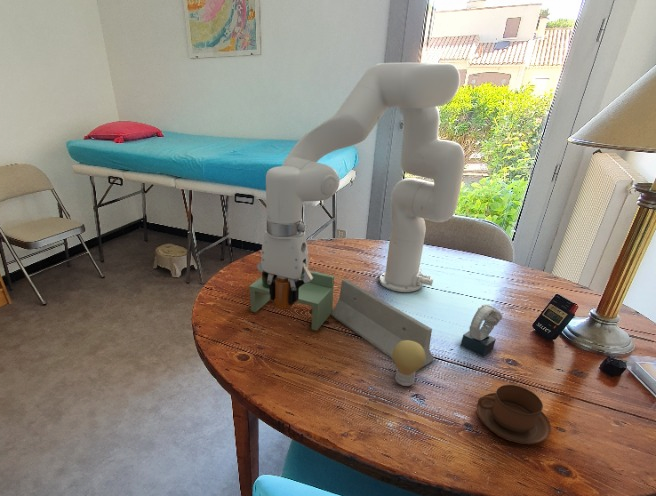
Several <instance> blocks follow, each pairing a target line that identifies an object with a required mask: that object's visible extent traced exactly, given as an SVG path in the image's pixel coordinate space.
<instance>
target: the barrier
mask: <svg viewBox="0 0 656 496" xmlns="http://www.w3.org/2000/svg"><path fill="white" fill-rule="evenodd" d="M330 316H331V317H333V318H334V319H336V320H337V321H338V322H340V323H341V324H343V325H344V326H345V327H347V328H348V329H350V330H351V331H352V332H354V333H355V334H357V335H358V336H359V337H361V338H363V339H364V340H365V341H366V342H368V343H369V344H371V345H373V346H374V347H375V348H377V350H379V351H380V352H383V354H385V355H387V357H389V358H391V359H392V360H393V357H392V353H393V350H394V348H395V346H396V345H397V344H398V343H399V342H401V341H404V340H410V341H414V342H417V343H419V344H420V345H421V346H422V347H423V349H424V352H425V362H424V364H423V366H422V367H421V368H424V367H425V366H426V365H429V364H431V363H433V362H434V359H435V358H434V355H433V354H432V352H431V350H430V346H431V339H432V332H433V328H431V327H429V326H428V325H427V324H424V323H423V322H421V321H419V320H417V319H415V317H412V316H410V315H409V314H407V313H406V312H403V311H402V310H401V309H398V308H397V307H395V306H393V305H392V304H390V303H389V302H386V301H384V300H383V299H381V298H379V297H378V296H376V295H374V294H372V293H370V292H368V291H367V290H365V288H362V287H360V286H358V285H356V284H355V283H353V282H352V281H350V280H348V279H346V278H345V279H341V285H340V292H339V298H338V301H337V303H336V304H335V306H334V307H333V308H332V313H331V314H330Z"/></svg>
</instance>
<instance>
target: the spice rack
mask: <svg viewBox="0 0 656 496" xmlns="http://www.w3.org/2000/svg"><path fill="white" fill-rule="evenodd" d="M309 271H310V273H311V275H312V276H313V280H312V281H310V282H308V283H306V284H303V285H302V286H301V287H299V298H298V300H297V301H296V302H295V303H297V304H301V305H304V306H309V307H311V330H314V331H318V330H319V329H320V328H321V327H322V325H323V324H324V323H325V321H326V320H327V319H328V318H329V316H331V313H332V311H333V301H334V288H335V287H334V285H335V275H333V274H328V273H322V272H318V271H314V270H310V269H309ZM302 278H304V276H303V274H302V273H301V277H300V279H302ZM249 299H250V300H249V301H250V312H253V313H257V312H258V311H259V310H260V309H261V308H263V307H264V306H265V305H266V304H267V303H268V302H269V301H271V299H270V293H269V288H265V287H263V286H262V276H260V277H259V278H258V279H256V280H255V281H254V282H252V283H251V284H250V285H249Z"/></svg>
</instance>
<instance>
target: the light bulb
mask: <svg viewBox="0 0 656 496" xmlns="http://www.w3.org/2000/svg"><path fill="white" fill-rule="evenodd" d="M392 357H393V359H392V361H393V363H394V365H395V367H396V372H395V377H394V378H395V381H396V383H397V384H399V385H400V386H404V387H410V386H412V385H413V384H414V383H415V376H416V372H417V371H419V370H420V369H422V368H423V367H424V366H423V364H424V362H425V352H424V349H423V347H422V346H421V345H420V344H419V343H417V342H414V341H410V340H404V341H401V342H399V343H398V344H397V345H396V346H395V348H394V350H393V353H392ZM422 366H423V367H422Z"/></svg>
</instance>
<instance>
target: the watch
mask: <svg viewBox="0 0 656 496" xmlns="http://www.w3.org/2000/svg"><path fill="white" fill-rule="evenodd" d="M502 319H503V314H502V313H501V312H500V310H499V309H497V308H496V307H494V306H492V305H489V304H482V305H481V306H480V307H478V308H477V310H476V312H475V314H474V315H473V318H472V319H471V322H470V325H469V328H468V329H469V330H468V331H467V332H465V333H463V335H462V338H461V342H460V347H463V348H465V349H466V350H468V351H470V352H472V353H474V354H476V355H478V356H480V357H482V358H484V357H485V356H486V355H488V354H489V353H491V352H492V351H493V350H494V347H495V345H496V341H497V338H495V337H493V336H491V335H490V334H491V333H492V331H493V330H494V328H495V327H496V326H497V325H498V324H499V322H501V320H502Z"/></svg>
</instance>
